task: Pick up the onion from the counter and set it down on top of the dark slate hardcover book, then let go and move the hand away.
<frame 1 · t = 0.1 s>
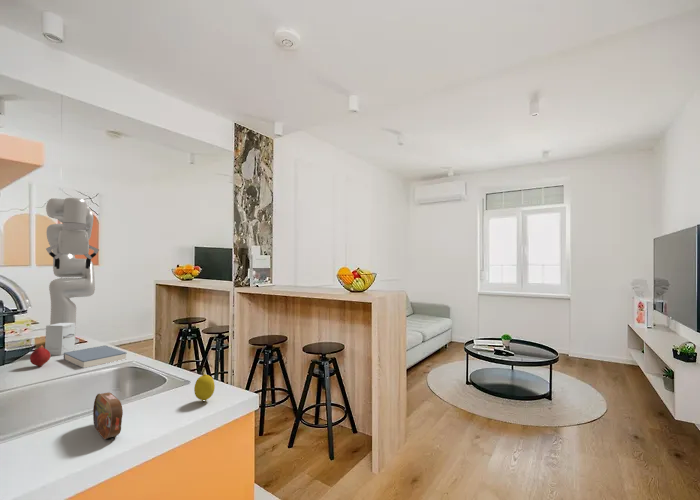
hand: (72, 268, 144), 37 cm above the counter, tool pointing down, fingers open, 9 cm apart
supplement box: (60, 353, 151), on the counter
tin: (107, 432, 84), on the counter
onion: (39, 367, 132), on the counter
book: (95, 359, 142), on the counter
lemon: (204, 402, 102), on the counter
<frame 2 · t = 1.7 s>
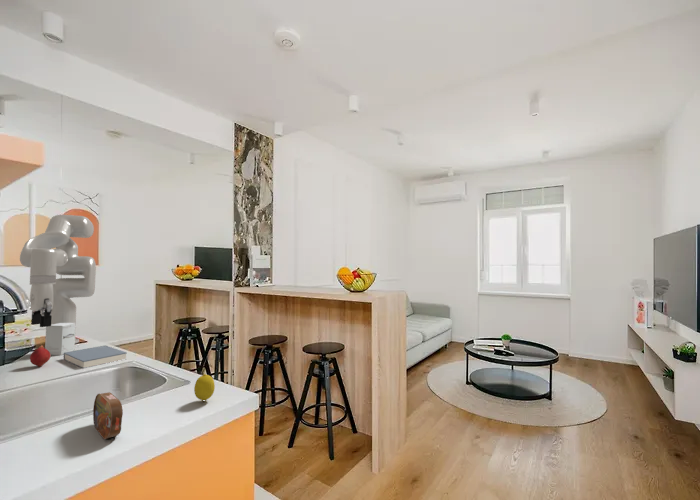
hand: (41, 325, 132), 16 cm above the counter, tool pointing down, fingers open, 9 cm apart
nothing on the counter moved.
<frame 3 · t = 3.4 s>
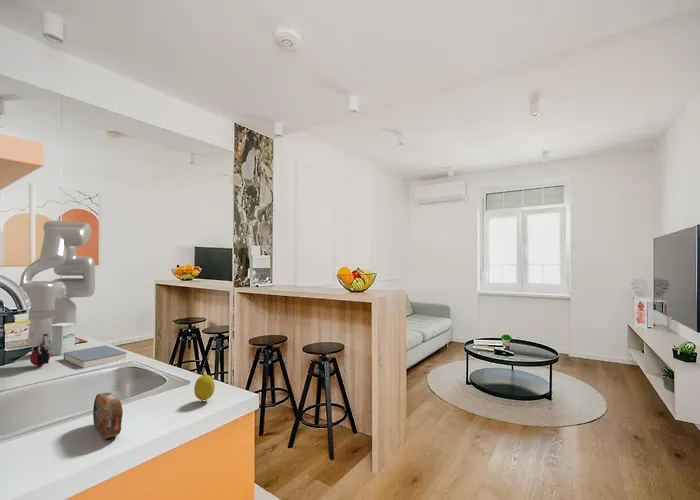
hand: (40, 362, 132), 2 cm above the counter, tool pointing down, fingers closed on onion, 5 cm apart
onion: (39, 367, 132), on the counter, touching gripper
everything else where it was.
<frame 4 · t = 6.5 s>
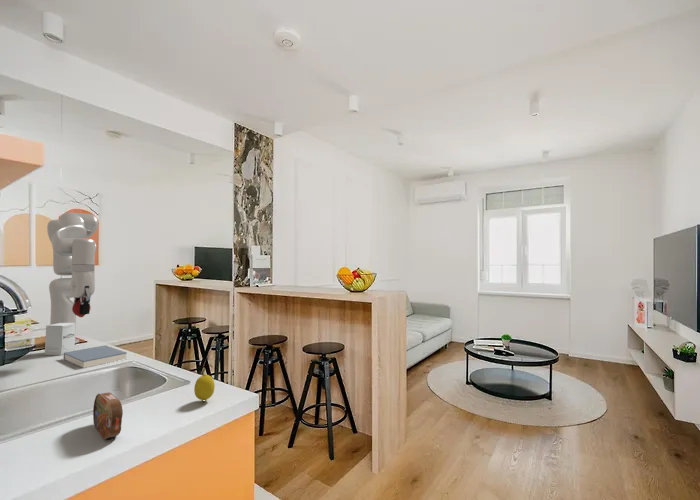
hand: (81, 312, 140), 19 cm above the counter, tool pointing down, fingers closed on onion, 5 cm apart
onion: (81, 317, 140), point 17 cm above the counter, touching gripper
everything else where it was.
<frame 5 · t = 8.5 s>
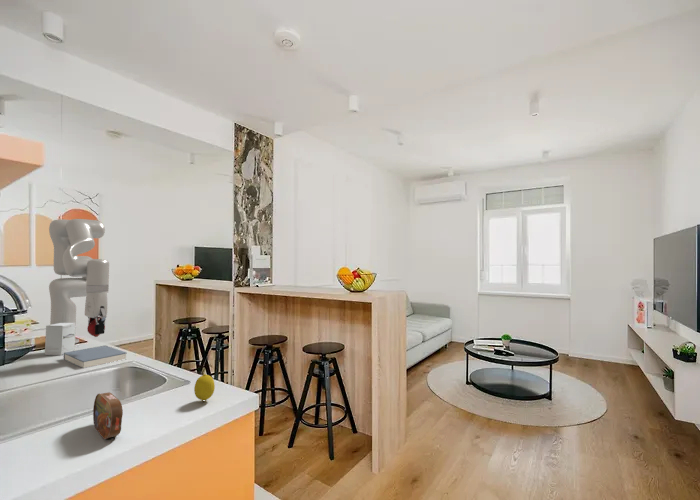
hand: (96, 332, 143), 11 cm above the counter, tool pointing down, fingers closed on onion, 5 cm apart
onion: (95, 337, 143), point 9 cm above the counter, touching gripper
everything else where it was.
when the fingers open (6 cm above the counter, at t = 9.9 s): onion drops 1 cm, resting on book.
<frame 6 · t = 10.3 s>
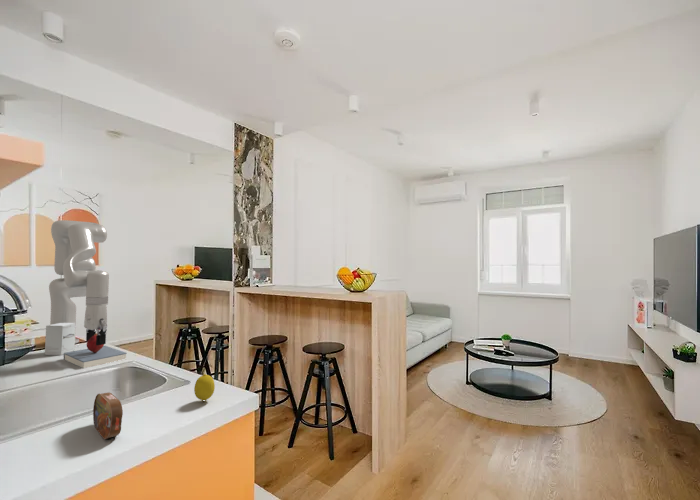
hand: (95, 342, 143), 7 cm above the counter, tool pointing down, fingers open, 9 cm apart
onion: (95, 353, 143), point 2 cm above the counter, touching book
book: (95, 360, 142), on the counter, touching onion
everything else where it was.
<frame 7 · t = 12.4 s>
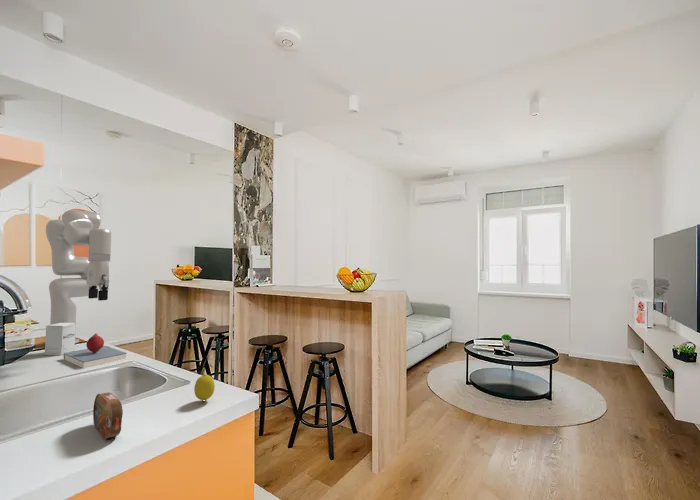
hand: (97, 299, 144), 25 cm above the counter, tool pointing down, fingers open, 9 cm apart
nothing on the counter moved.
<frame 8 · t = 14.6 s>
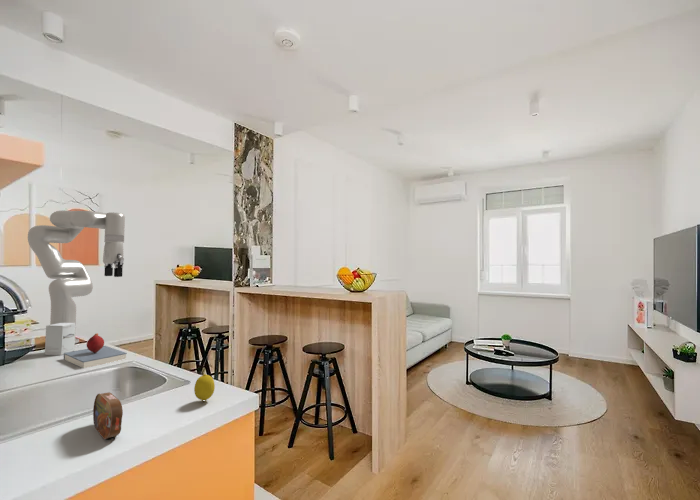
hand: (113, 276, 160), 33 cm above the counter, tool pointing down, fingers open, 9 cm apart
nothing on the counter moved.
at the end: onion inside the target area on the book (0.2 cm from its centre), point 2.8 cm above the book's base; onion touching book; the gripper is holding nothing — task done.
